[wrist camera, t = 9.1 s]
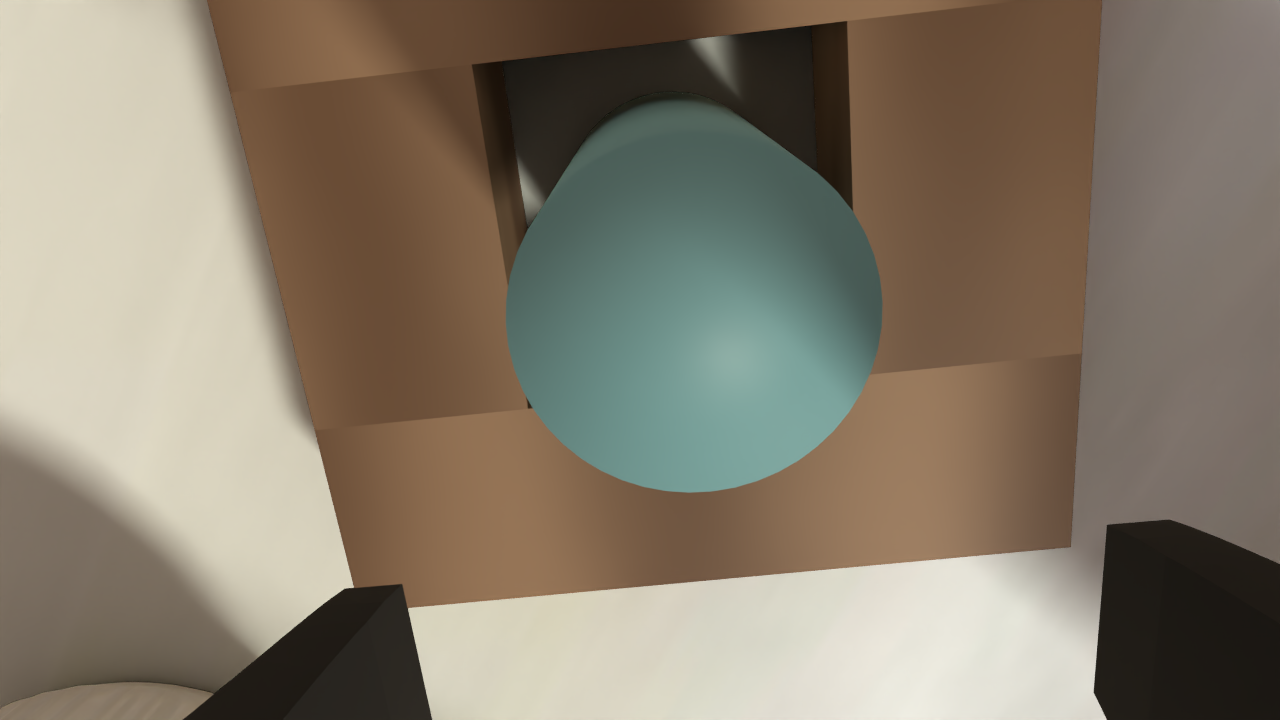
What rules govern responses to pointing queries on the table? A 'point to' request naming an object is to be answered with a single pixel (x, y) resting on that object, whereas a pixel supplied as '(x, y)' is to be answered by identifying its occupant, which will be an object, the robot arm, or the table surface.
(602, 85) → the table surface
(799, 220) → the peg
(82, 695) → the ramekin
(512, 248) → the socket
